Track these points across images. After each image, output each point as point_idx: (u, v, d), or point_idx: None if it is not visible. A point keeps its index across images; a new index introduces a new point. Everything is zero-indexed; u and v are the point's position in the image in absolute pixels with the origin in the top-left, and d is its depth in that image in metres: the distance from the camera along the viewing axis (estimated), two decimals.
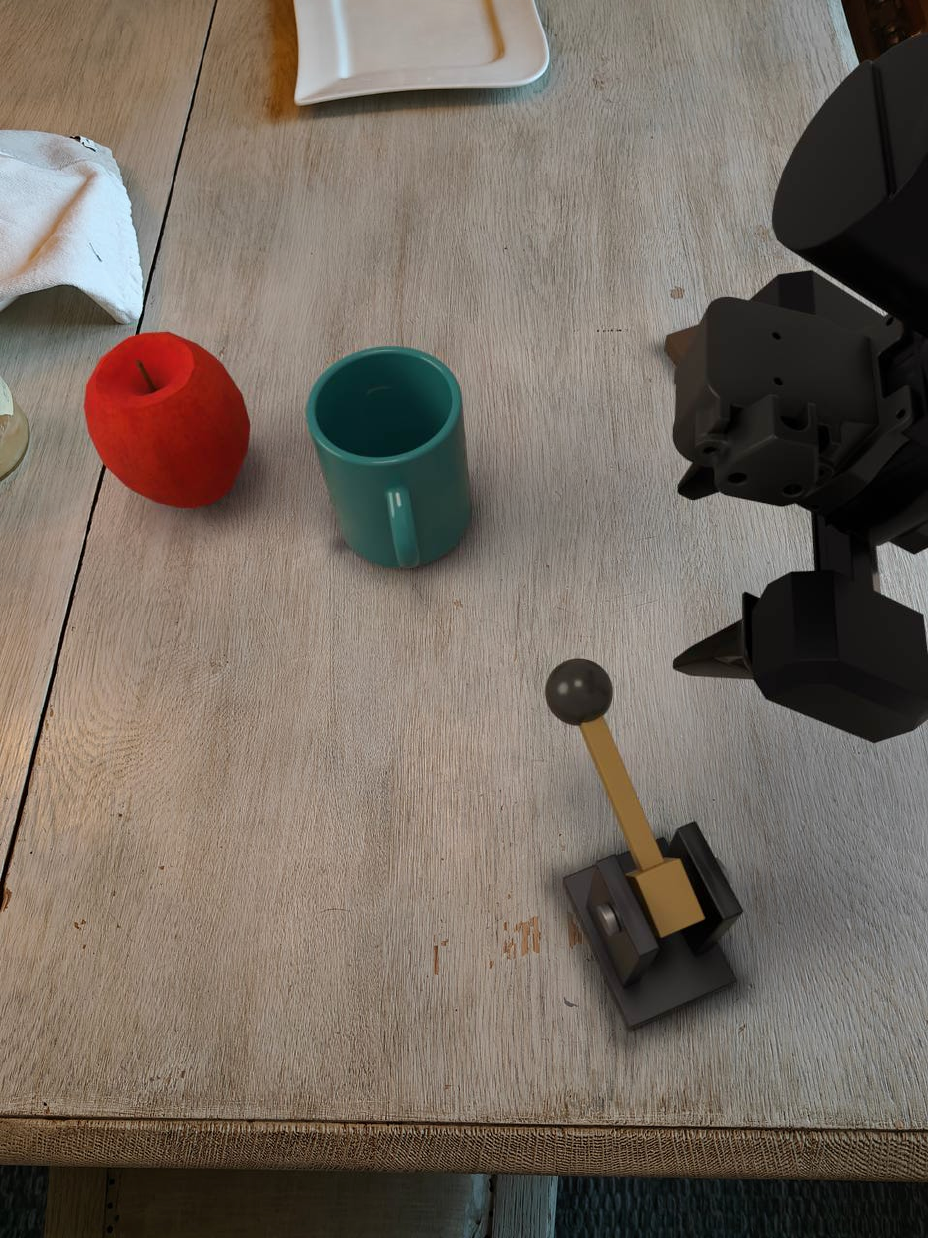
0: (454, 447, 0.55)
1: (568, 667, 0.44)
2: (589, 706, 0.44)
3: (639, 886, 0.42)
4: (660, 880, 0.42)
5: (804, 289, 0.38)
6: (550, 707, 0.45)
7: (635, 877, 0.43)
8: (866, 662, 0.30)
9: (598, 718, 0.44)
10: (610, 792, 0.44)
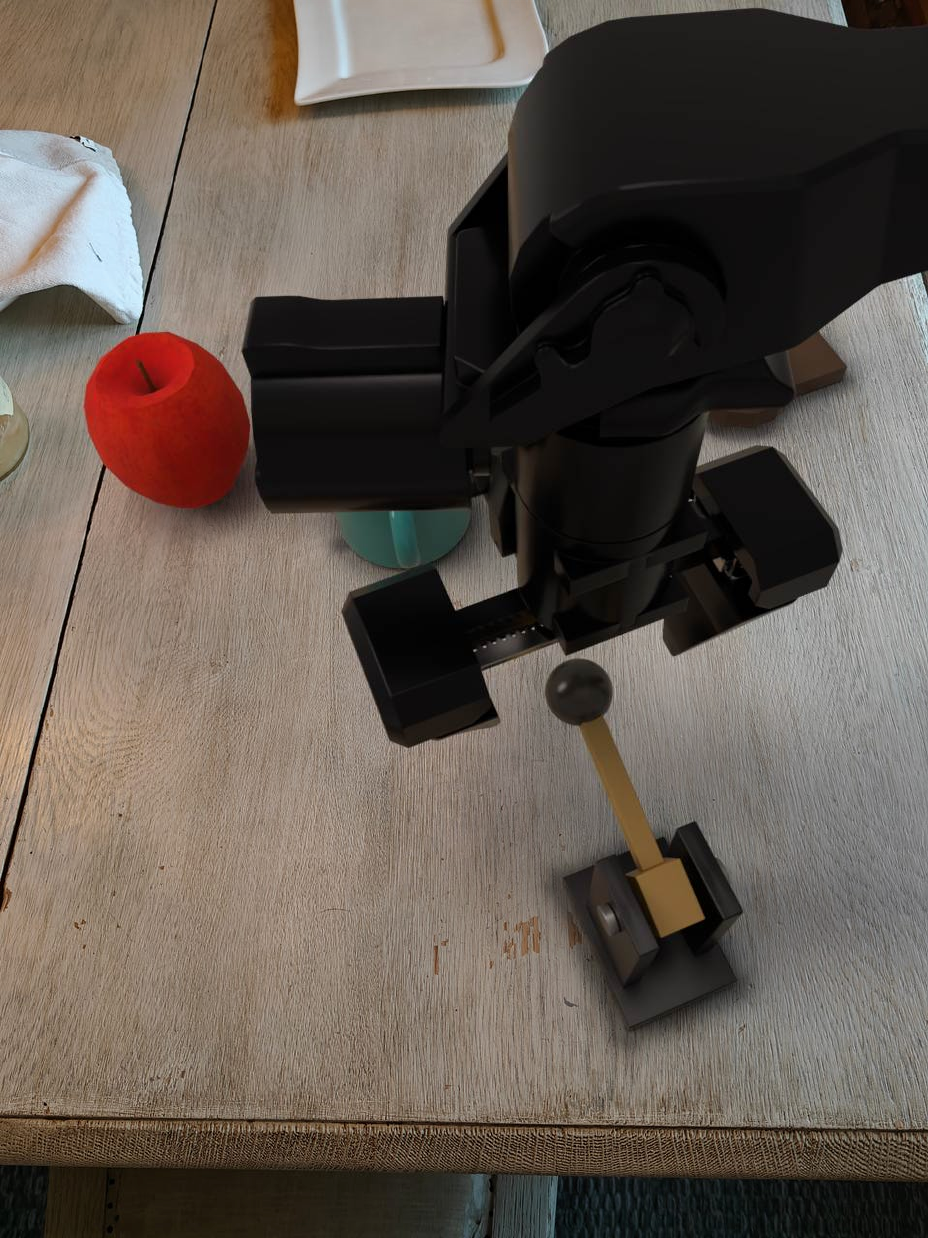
0: None
1: (568, 667, 0.44)
2: (589, 706, 0.44)
3: (639, 886, 0.42)
4: (660, 880, 0.42)
5: (744, 454, 0.38)
6: (550, 707, 0.45)
7: (635, 877, 0.43)
8: (373, 622, 0.35)
9: (598, 718, 0.44)
10: (610, 792, 0.44)
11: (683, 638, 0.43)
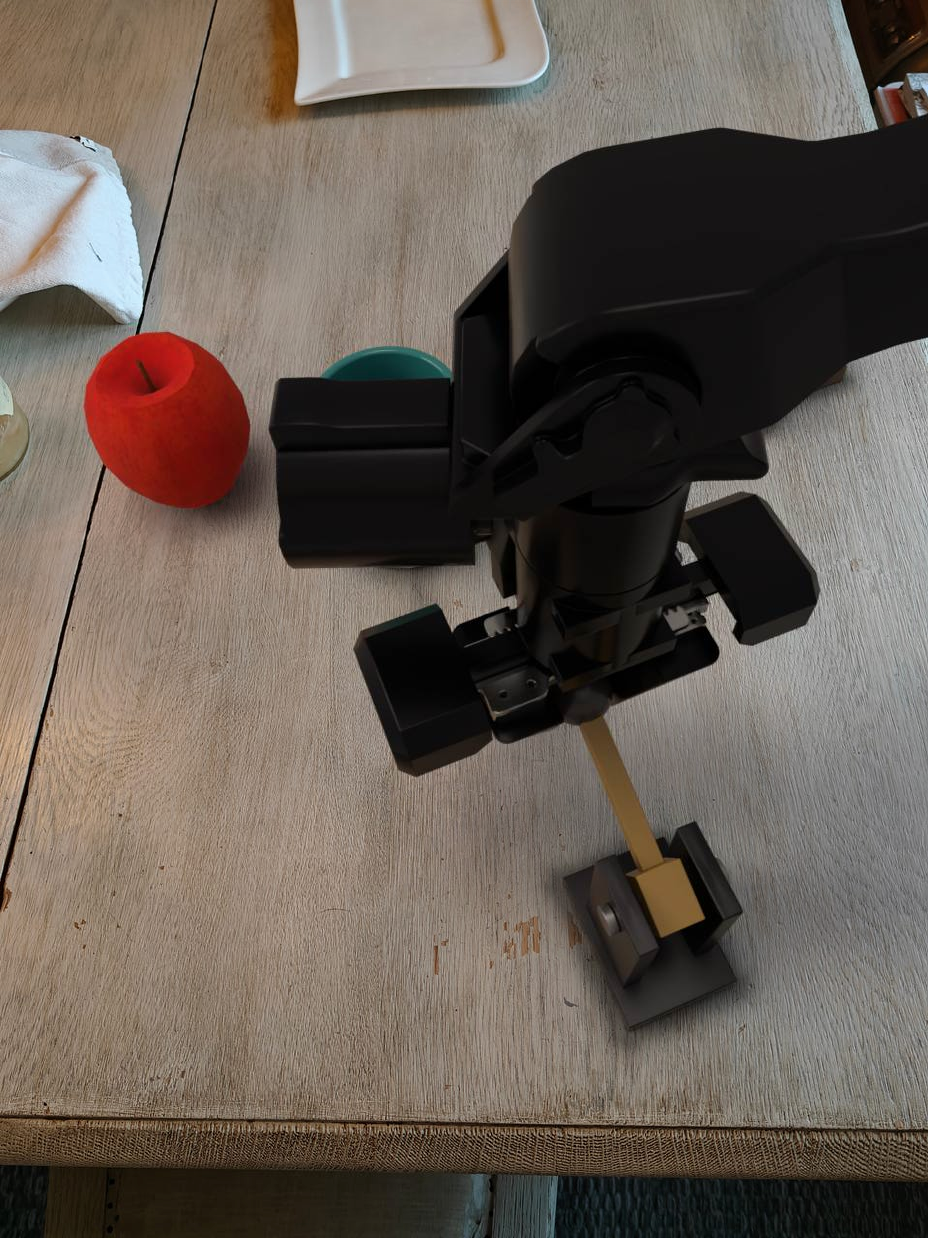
0: None
1: None
2: (589, 706, 0.44)
3: (639, 886, 0.42)
4: (660, 880, 0.42)
5: (729, 501, 0.41)
6: None
7: (635, 877, 0.43)
8: (383, 661, 0.38)
9: (598, 718, 0.44)
10: (610, 792, 0.44)
11: (617, 691, 0.45)
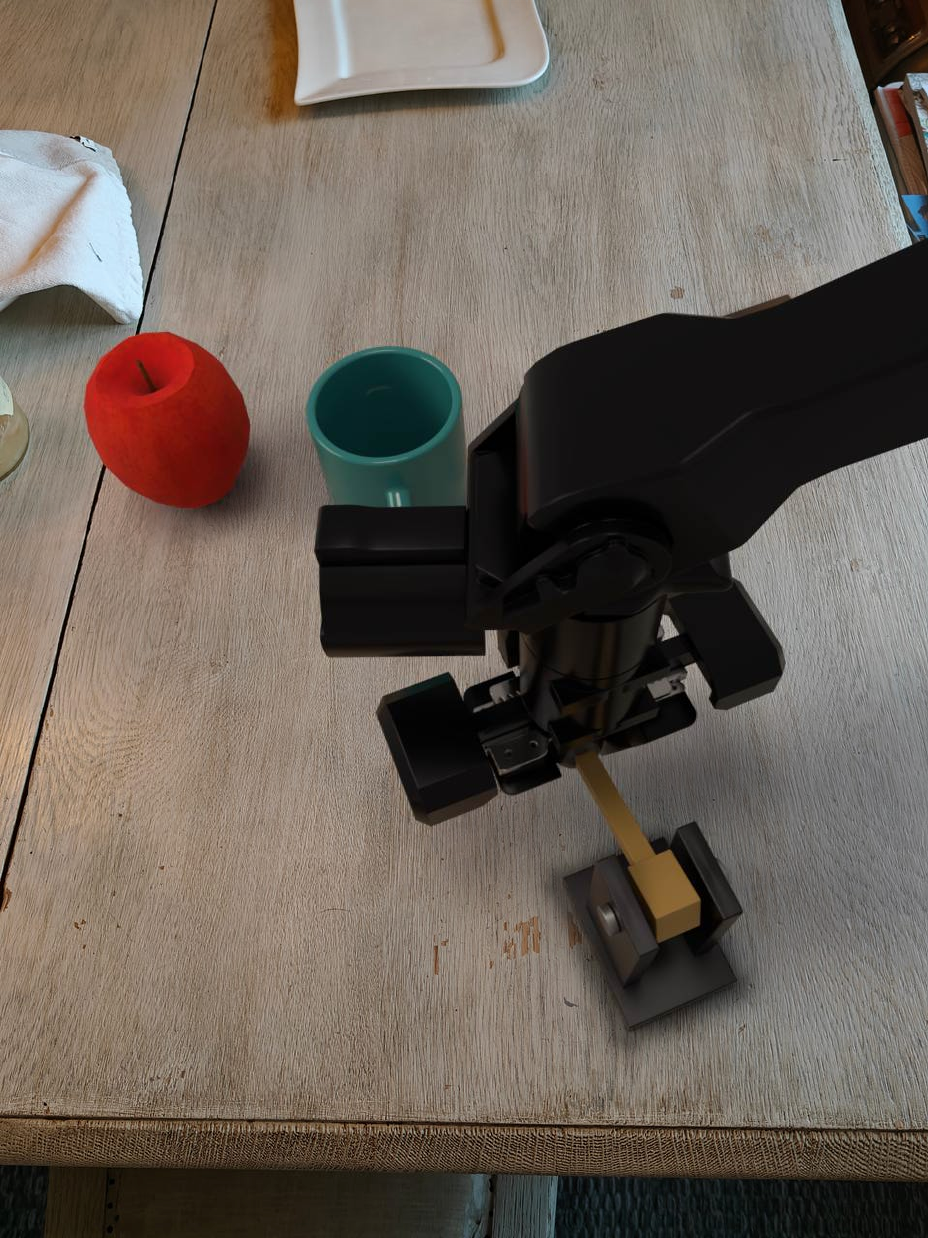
0: (454, 447, 0.55)
1: None
2: None
3: (631, 876, 0.43)
4: (651, 868, 0.43)
5: None
6: None
7: None
8: (403, 725, 0.43)
9: (589, 750, 0.49)
10: (603, 807, 0.47)
11: (607, 744, 0.50)
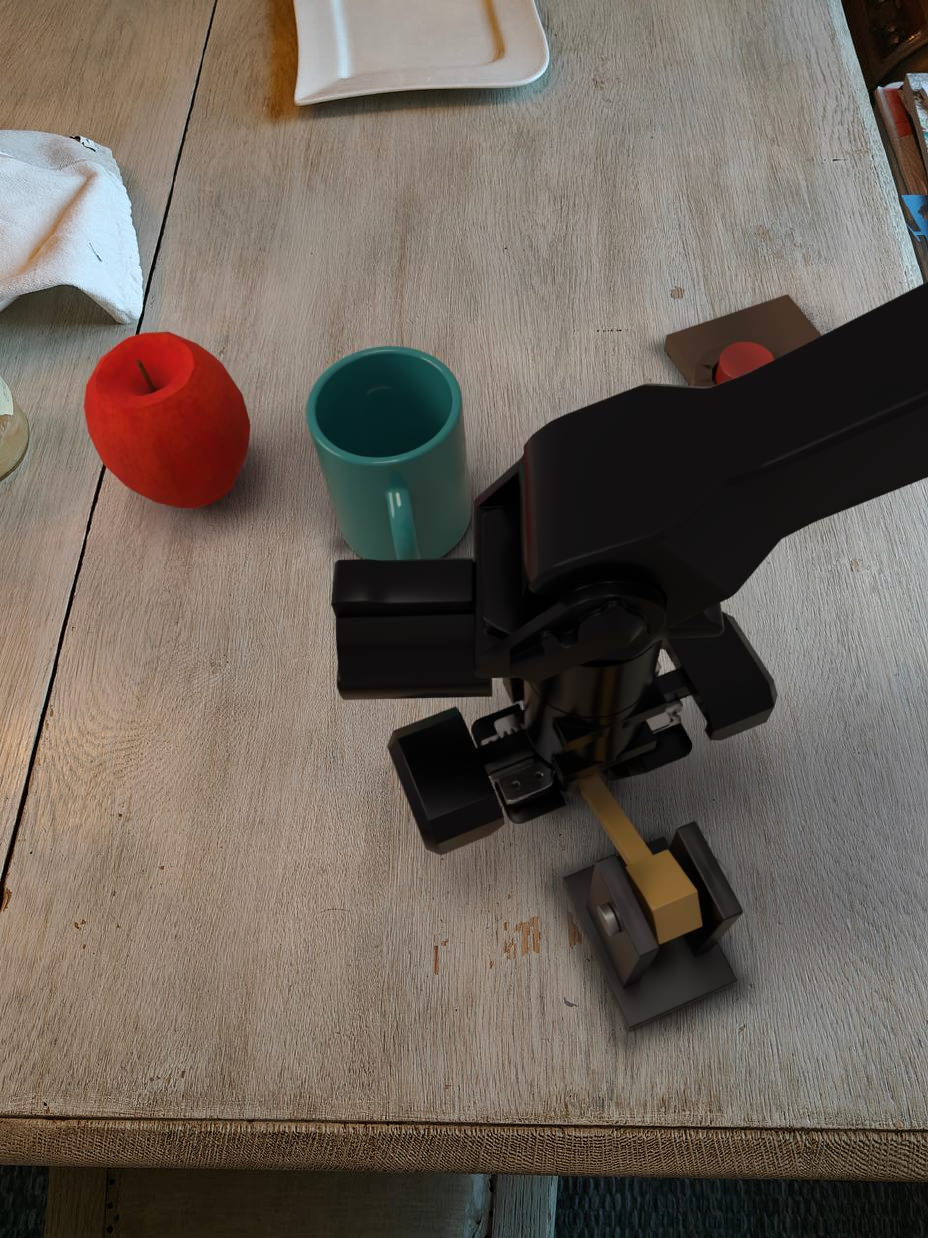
0: (454, 447, 0.55)
1: None
2: None
3: (629, 874, 0.43)
4: (649, 866, 0.43)
5: None
6: None
7: (626, 869, 0.44)
8: (413, 759, 0.45)
9: (592, 774, 0.50)
10: (605, 821, 0.47)
11: None
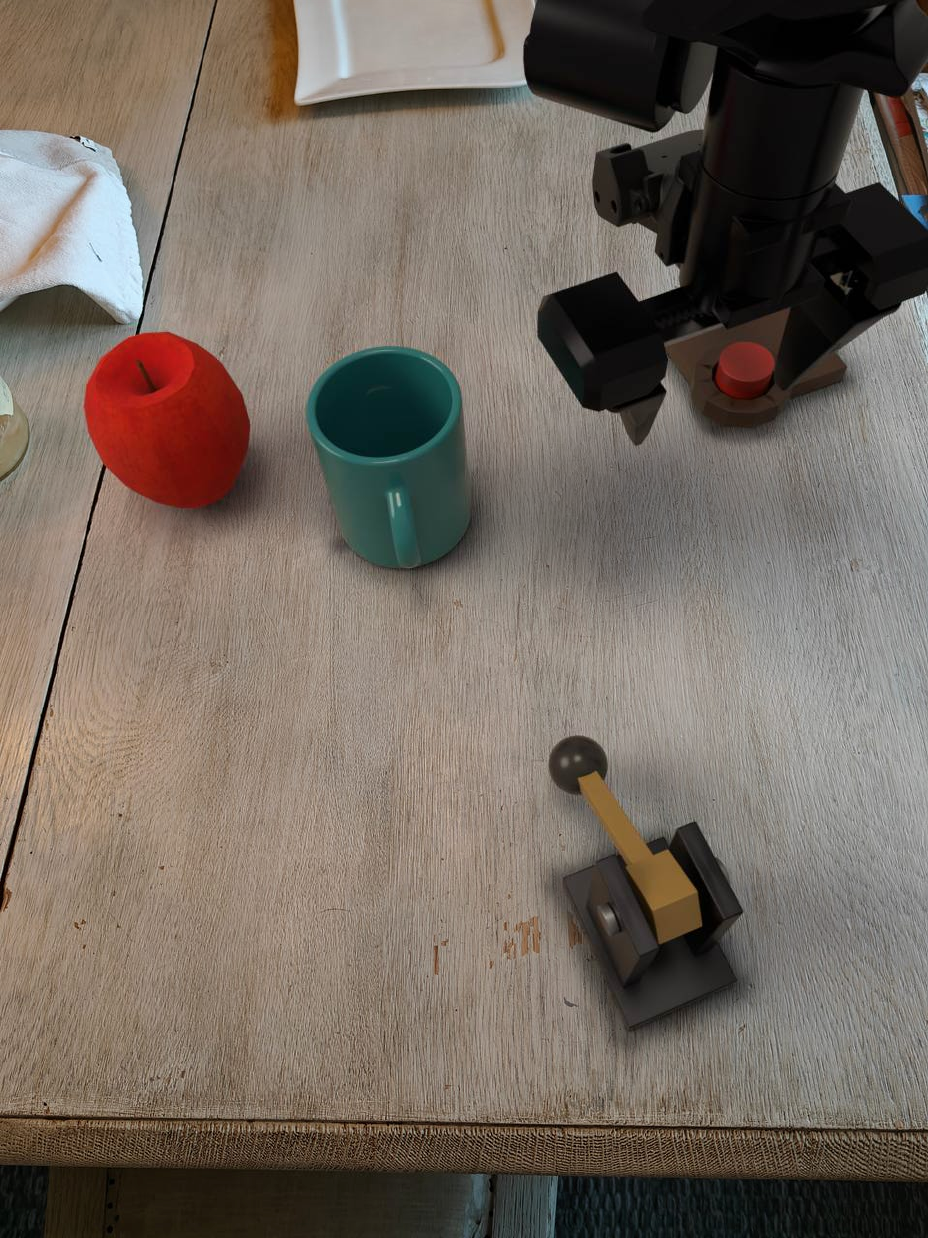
0: (454, 447, 0.55)
1: (562, 740, 0.52)
2: (579, 757, 0.50)
3: (629, 874, 0.43)
4: (649, 866, 0.43)
5: None
6: (552, 775, 0.51)
7: (626, 869, 0.44)
8: (571, 308, 0.44)
9: (592, 772, 0.50)
10: (604, 820, 0.47)
11: (796, 365, 0.51)
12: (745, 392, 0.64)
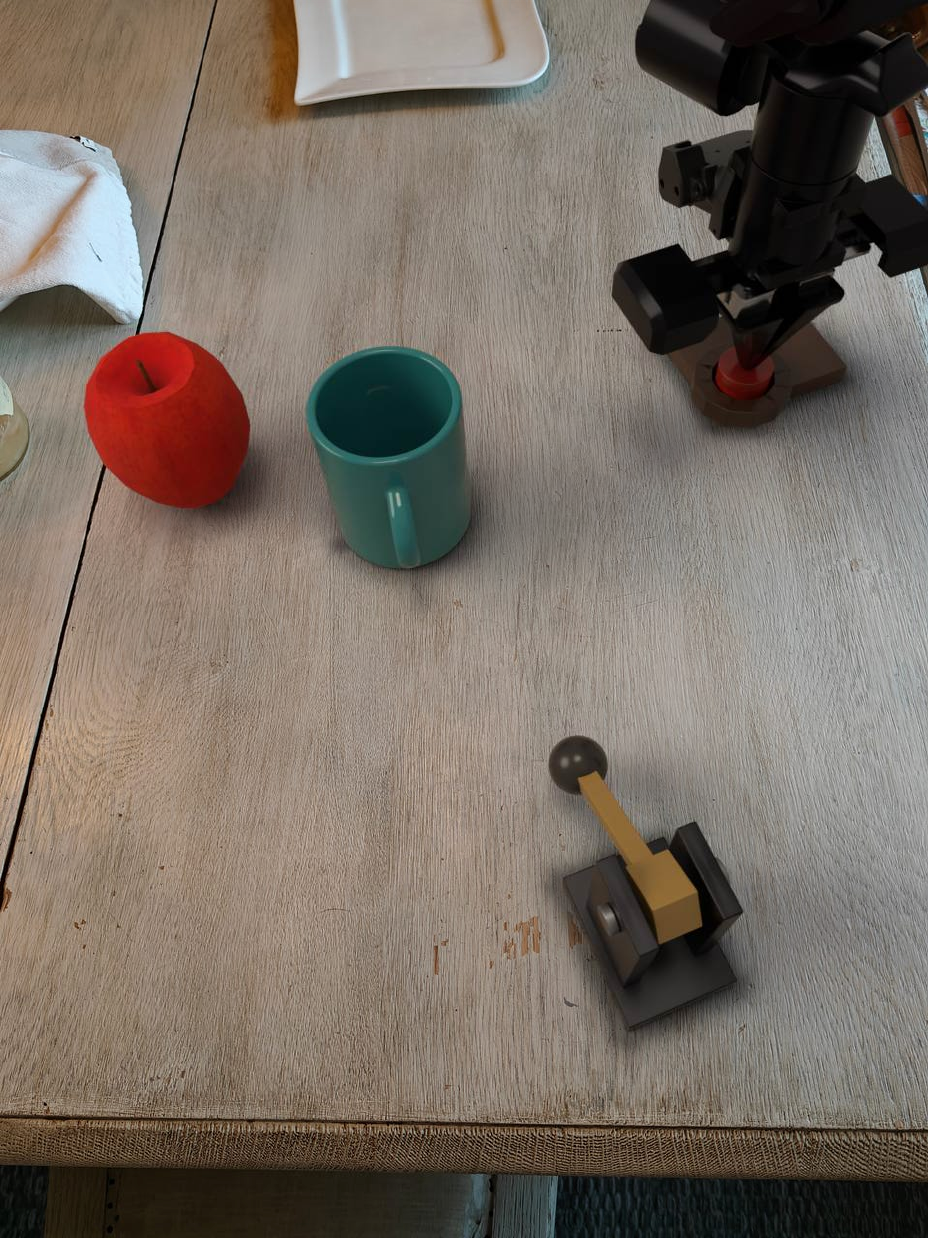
0: (454, 447, 0.55)
1: (562, 740, 0.52)
2: (579, 757, 0.50)
3: (629, 874, 0.43)
4: (649, 866, 0.43)
5: (872, 180, 0.58)
6: (552, 775, 0.51)
7: (626, 869, 0.44)
8: (642, 271, 0.55)
9: (592, 772, 0.50)
10: (604, 820, 0.47)
11: None
12: (744, 395, 0.64)
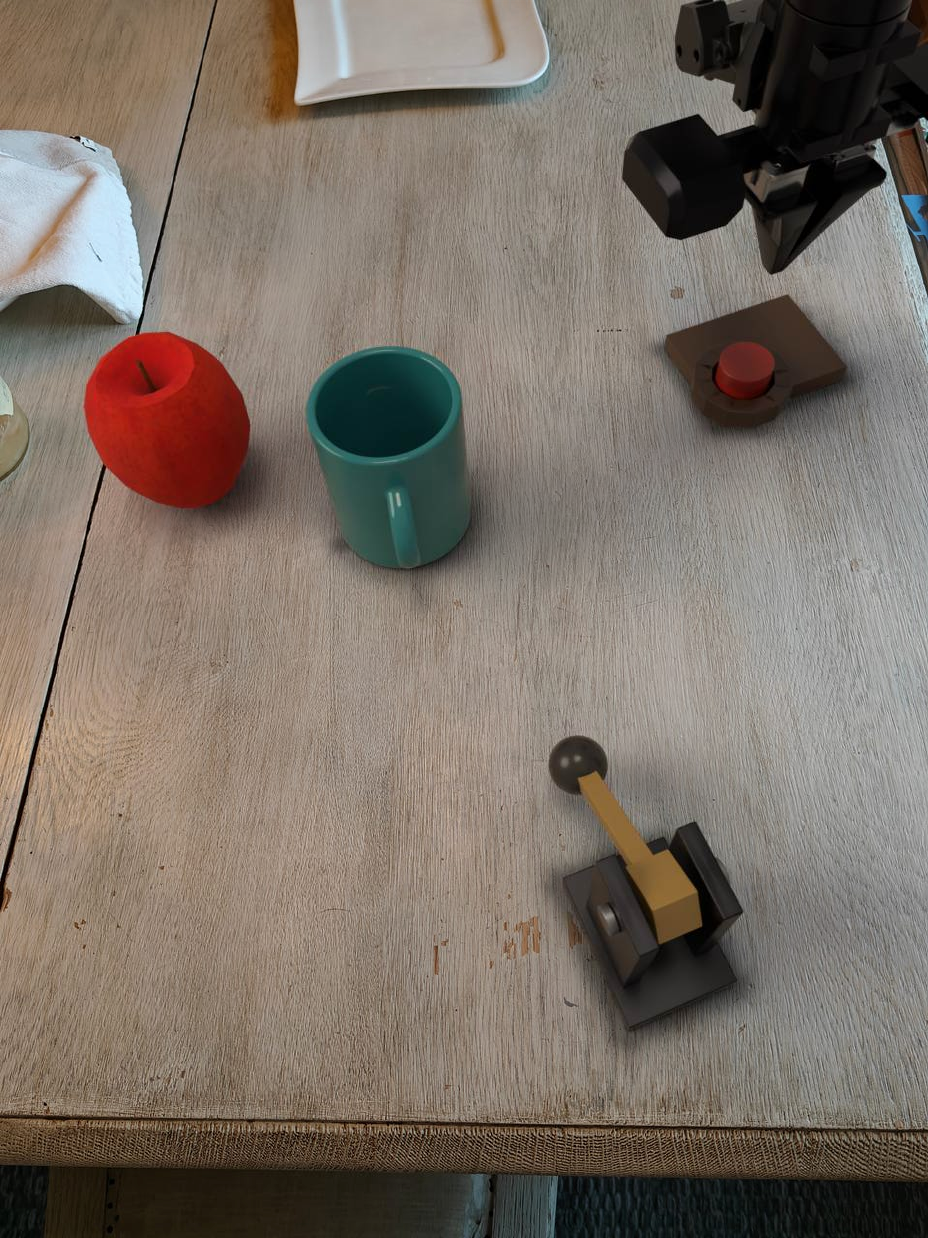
0: (454, 447, 0.55)
1: (562, 740, 0.52)
2: (579, 757, 0.50)
3: (629, 874, 0.43)
4: (649, 866, 0.43)
5: None
6: (552, 775, 0.51)
7: (626, 869, 0.44)
8: (657, 143, 0.48)
9: (592, 772, 0.50)
10: (604, 820, 0.47)
11: None
12: (745, 392, 0.64)
